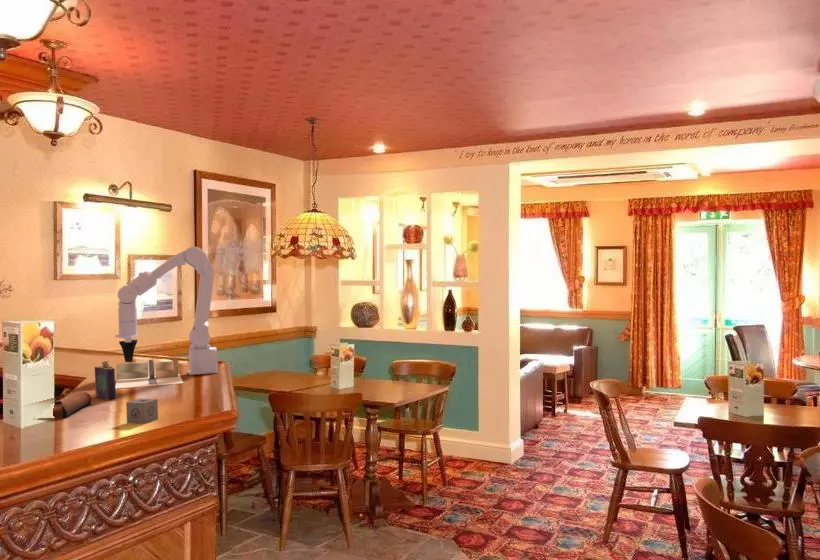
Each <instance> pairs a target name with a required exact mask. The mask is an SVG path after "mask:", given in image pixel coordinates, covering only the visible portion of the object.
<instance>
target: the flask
mask: <svg viewBox="0 0 820 560" xmlns="http://www.w3.org/2000/svg"><path fill="white" fill-rule="evenodd" d="M109 363H110V360H107V361H101V364H102V365H101V366H100V365H97V366H94V381H95V388H94V390H95V395H94V396H95V398H96V399H100V400H106V401H115V400H117V394H116V393H117V391H116V390H117V389H116V388H115V386H116V375H115V374H116V373H115V372H116V371H115V370H116V369H115V367H113V366H111V365H110V364H109Z"/></svg>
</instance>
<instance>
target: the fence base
mask: <svg viewBox="0 0 820 560" xmlns="http://www.w3.org/2000/svg"><path fill="white" fill-rule="evenodd" d="M178 359H179V358H178V357H173V358H172V360H170V361H159V362H158V361H156V362H155V359H148V376H149V378H150V379H151V378H155V376H156V378H163V377H178V374H179V362H178V361H179V360H178Z"/></svg>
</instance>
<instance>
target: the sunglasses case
mask: <svg viewBox="0 0 820 560" xmlns="http://www.w3.org/2000/svg"><path fill="white" fill-rule="evenodd" d="M92 398H93V397H92V395H91V394H90V393H89V392H86V391H79V392H74V393H71V394H69V395H66V396H64V397H63V398H60V399H58V400H55V401H54V402H53V403H55V405H54V408H53V416H54V417H55V418H61V419H64V418H65V419H66V418H67V417H69V416H71V415H72V414H74V412H76V411H78V410H79V409H81V408H83V407H85V406H86V405H91V403H92V402H93V401H92Z"/></svg>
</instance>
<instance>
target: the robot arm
mask: <svg viewBox="0 0 820 560" xmlns="http://www.w3.org/2000/svg"><path fill="white" fill-rule="evenodd" d="M186 265H189V266H191V267H192V268H193V269H195V271H196V272H197V273H198V274H199V283H198V291H197V297H196V306H195V307H196V308H195V315H194V319H193V320H194V321H193V326H192V329H191V331H190V333H189V335H188V339H189V341H190V343H191V344H190V346H189V347H188V348H189V349H188V354H189V355H188V357H189V358H188V359H189V360H188V361H189V370H187V373H188V375H189V376H193V375H203V374H204V375H206V374H218V373H219V371H218V370H219V369H218V368H219V364H218V363H219V362H218V349H217V346H211V344H209V343H210V341H211V336H210V333H209V327H210V326H209V319H210V311H211V304H212V303H211V302H212V296H213V295H212V294H213V288H214V287H213V286H214V280H215V279H214V278H215V268H214V266H213V265H212V263H211V261H210V259H209V257H208V255H207V253H206V252H205V251H204V250H203V249H201V247H199V246H190V247H188V248H186V249H185V250H183V251H181V252H178V253H177V254H175V255H173V256H172V257H170V258H169V259H166V261H164V262H163V263H162V264H161V265H159V266H157V267H156V268H155V269H153V271H144V272H142V271H141V272H139V273H138V276H136V277H135V278H134V279H132V280H131V281H129V280H128V281H127V282H126V285H123V286H121V288H120V289H118V291H117V298H118V305H117V306H118V309H117V310H118V311H117V312H118V313H117V315H118V334H115V336H114V338H119V339H124V340H121V341H119V342H118V343H119V345H120V347H121V350H122V352H123V358H124V363H133V359H134V354H135V353H134V352H135V348H136V346H137V343H138V339H134V338H137V337H138V336H139V334H138V321H137V320H138V310H137V309H138V308H137V306H136V299H137V297H138V296H142V295H144V294H145V293H147V292H148V291H149V290H151V289H152V288H154V287H155V286H156V285H157V281H158V279H160V278H162V276H164V275H165V274H167V273H169V272H170V271H172V270H173V269H175V268H176V267H180V266H186Z"/></svg>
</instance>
